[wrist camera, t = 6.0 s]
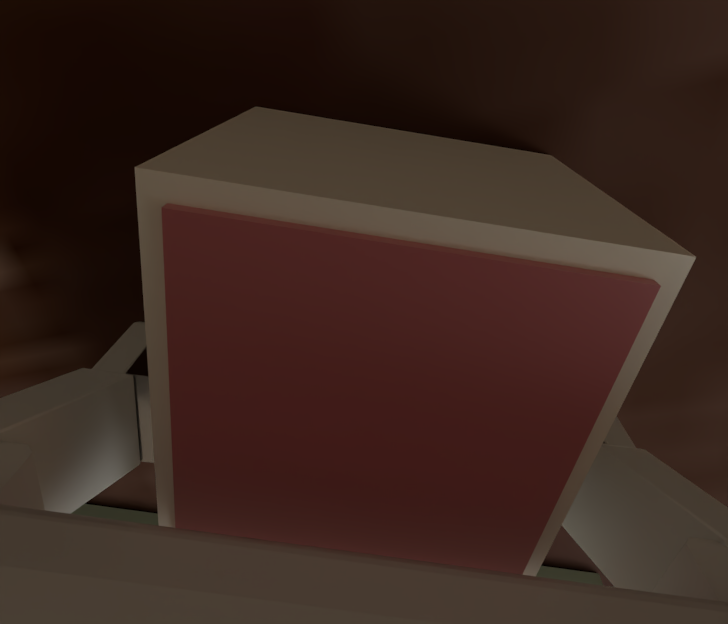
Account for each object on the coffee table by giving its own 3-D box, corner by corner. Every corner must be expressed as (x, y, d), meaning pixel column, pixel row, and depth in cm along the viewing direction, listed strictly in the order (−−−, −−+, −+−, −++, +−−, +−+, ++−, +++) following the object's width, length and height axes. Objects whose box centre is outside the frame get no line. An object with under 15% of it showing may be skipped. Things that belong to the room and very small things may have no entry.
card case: (256, 106, 9) (127, 171, 5) (550, 155, 9) (704, 262, 5) (239, 464, 13) (165, 680, 9) (442, 493, 14) (470, 718, 9)
